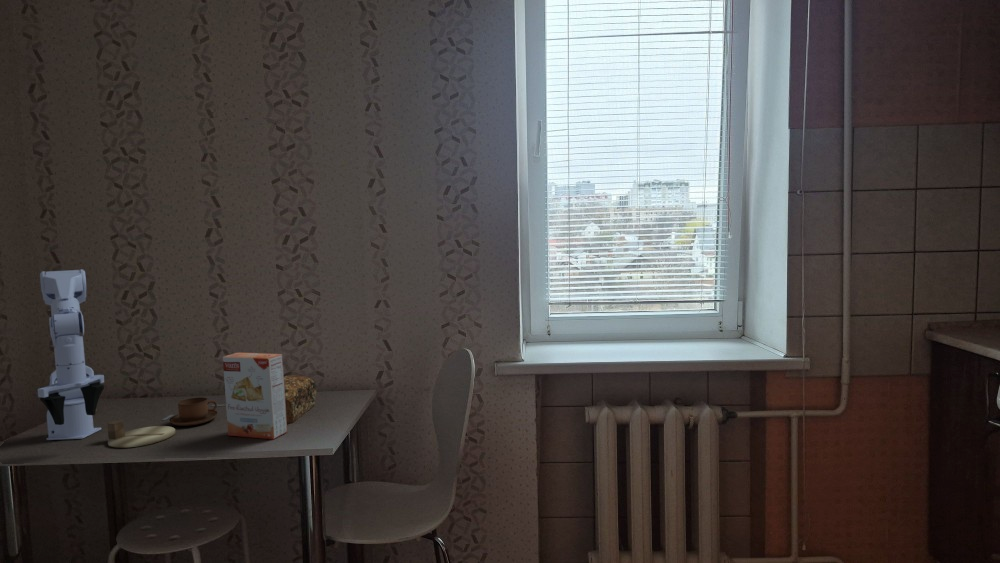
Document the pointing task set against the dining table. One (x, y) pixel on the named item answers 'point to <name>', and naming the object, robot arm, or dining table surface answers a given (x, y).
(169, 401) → the dining table surface
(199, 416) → the cup and saucer
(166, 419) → the tape mark left
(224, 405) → the tape mark far
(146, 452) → the dining table surface
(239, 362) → the cracker box
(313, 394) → the bread
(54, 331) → the robot arm
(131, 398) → the dining table surface
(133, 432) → the cream disc with block
